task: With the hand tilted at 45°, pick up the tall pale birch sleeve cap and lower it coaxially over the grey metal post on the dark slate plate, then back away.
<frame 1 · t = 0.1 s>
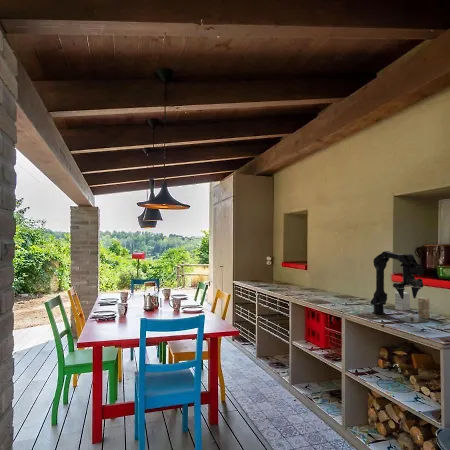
hand: (408, 298, 228), 15 cm above the counter, tool pointing down, fingers open, 9 cm apart
birch cap: (424, 317, 240), on the counter
supplement box: (402, 310, 268), on the counter
post plate: (411, 320, 232), on the counter
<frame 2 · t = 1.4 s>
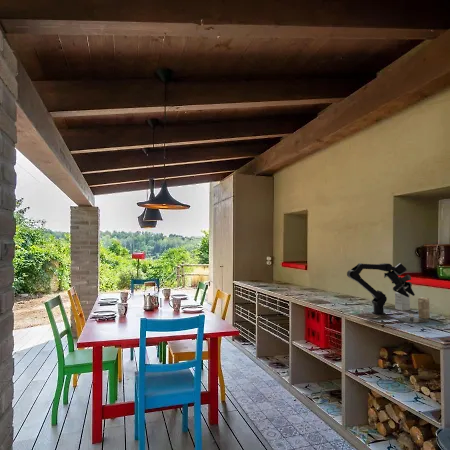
hand: (411, 296, 246), 13 cm above the counter, tool tilted 45°, fingers open, 9 cm apart
nothing on the counter moved.
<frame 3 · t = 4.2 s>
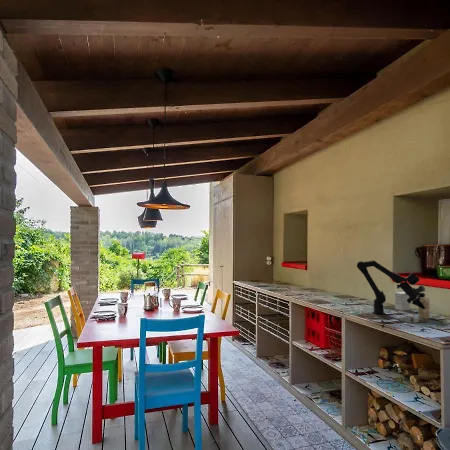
hand: (426, 308, 239), 7 cm above the counter, tool tilted 45°, fingers closed on birch cap, 5 cm apart
birch cap: (424, 317, 240), on the counter, touching gripper
everything else where it was.
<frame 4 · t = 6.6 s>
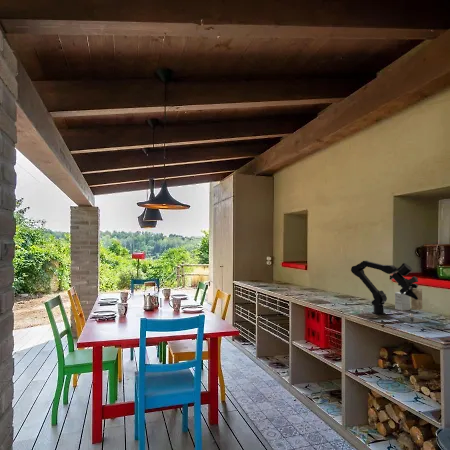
hand: (419, 298, 235), 13 cm above the counter, tool tilted 45°, fingers closed on birch cap, 5 cm apart
birch cap: (416, 308, 236), point 7 cm above the counter, touching gripper
everything else where it was.
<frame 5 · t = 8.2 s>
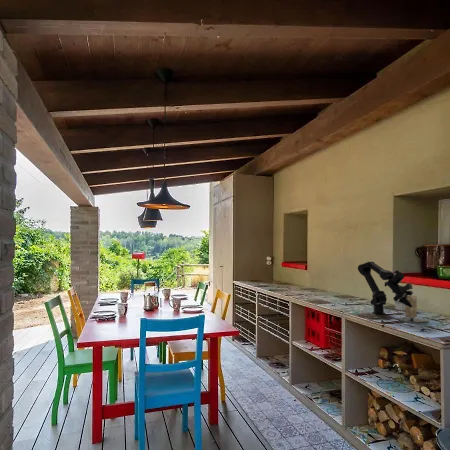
hand: (413, 306, 232), 9 cm above the counter, tool tilted 45°, fingers closed on birch cap, 5 cm apart
birch cap: (411, 316, 232), point 3 cm above the counter, touching gripper
everything else where it was.
when the fingers open (8 cm above the counter, at t = 9.4 s): birch cap stays where it is, resting on post plate.
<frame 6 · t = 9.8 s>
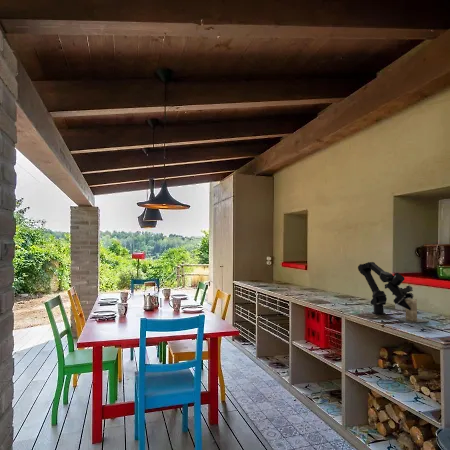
hand: (413, 308, 231), 8 cm above the counter, tool tilted 45°, fingers open, 9 cm apart
birch cap: (411, 319, 232), point 1 cm above the counter, touching post plate
everything else where it was.
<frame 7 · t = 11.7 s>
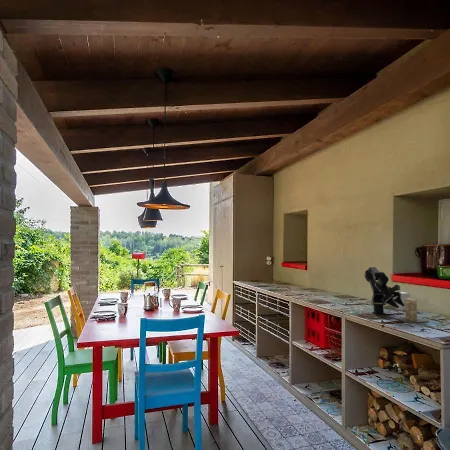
hand: (401, 306, 237), 8 cm above the counter, tool tilted 45°, fingers open, 9 cm apart
nothing on the counter moved.
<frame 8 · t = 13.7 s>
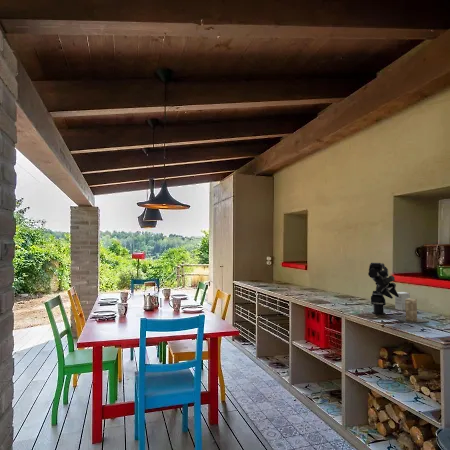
hand: (395, 297, 240), 14 cm above the counter, tool tilted 45°, fingers open, 9 cm apart
nothing on the counter moved.
at the end: birch cap 0.0 cm off-centre on the post plate, point 0.6 cm above the post plate's base; birch cap tilted 0°; the gripper is holding nothing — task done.
